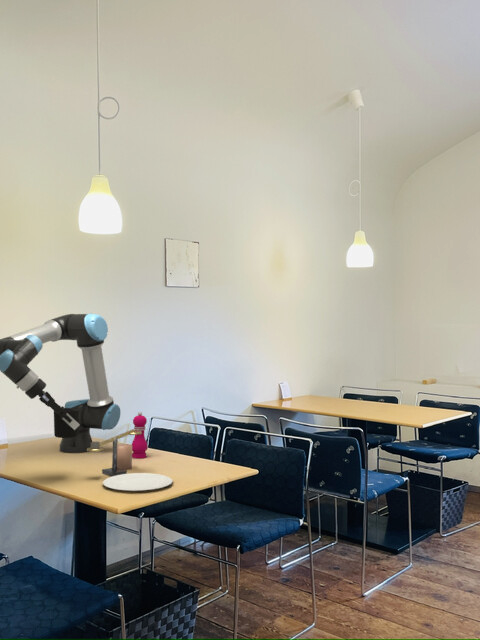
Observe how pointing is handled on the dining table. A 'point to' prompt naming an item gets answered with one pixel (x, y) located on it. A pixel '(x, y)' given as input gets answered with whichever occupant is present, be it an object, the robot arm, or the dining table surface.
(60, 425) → the pen holder
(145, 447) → the pepper mill
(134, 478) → the plate
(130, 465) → the tan boxy piece
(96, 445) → the balance
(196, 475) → the dining table surface
